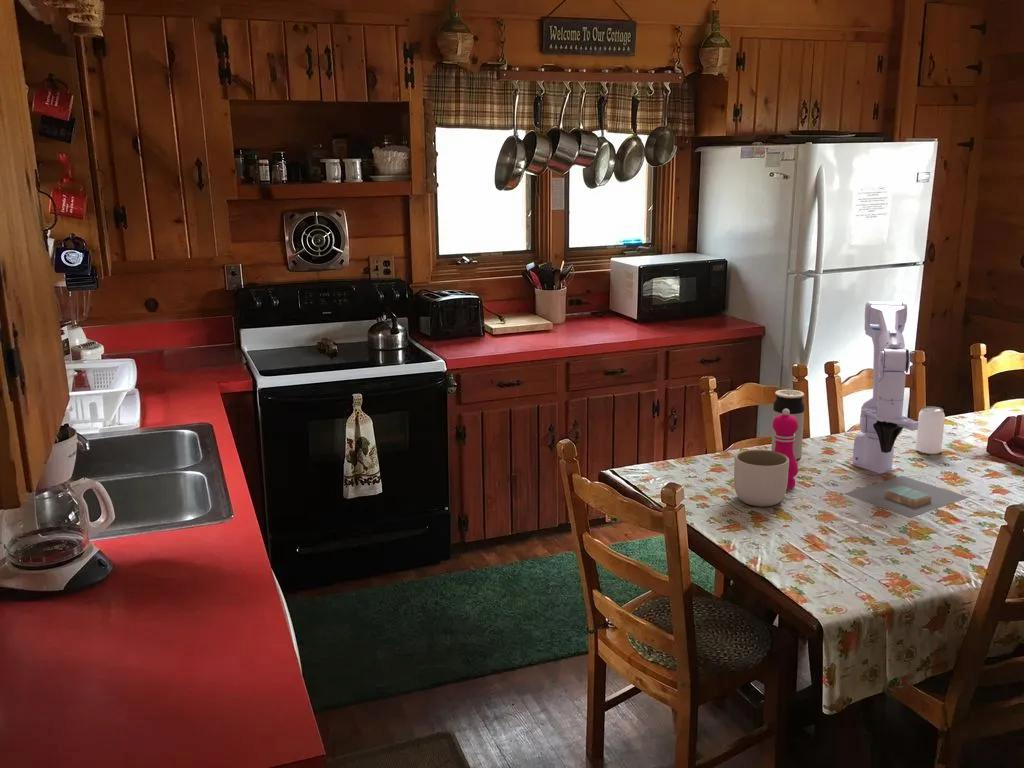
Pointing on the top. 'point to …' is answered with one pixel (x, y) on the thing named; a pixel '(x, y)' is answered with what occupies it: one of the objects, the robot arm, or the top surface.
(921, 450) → the can
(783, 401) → the travel mug
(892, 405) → the robot arm
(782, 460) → the planter
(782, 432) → the pepper mill
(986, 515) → the top surface
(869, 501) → the rubber mat
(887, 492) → the brown framed teal panel
